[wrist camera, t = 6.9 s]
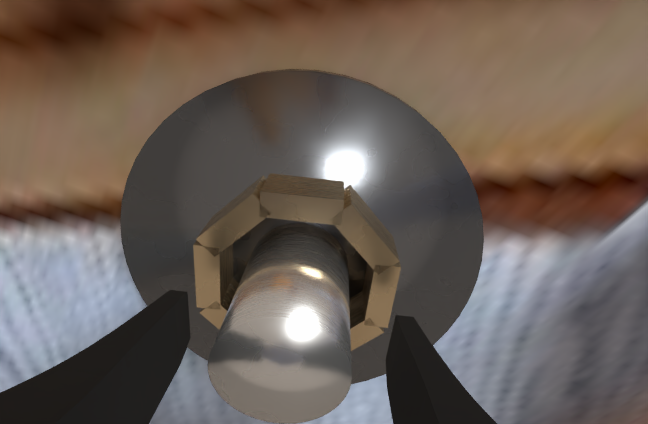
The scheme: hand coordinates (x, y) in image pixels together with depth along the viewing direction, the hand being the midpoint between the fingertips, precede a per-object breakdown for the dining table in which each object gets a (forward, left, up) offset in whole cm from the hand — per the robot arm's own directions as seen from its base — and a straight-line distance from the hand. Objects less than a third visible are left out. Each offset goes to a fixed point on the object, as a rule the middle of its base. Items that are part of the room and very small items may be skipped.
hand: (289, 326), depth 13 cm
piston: (0, 0, -4) cm, 4 cm away
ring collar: (0, 0, -5) cm, 5 cm away
